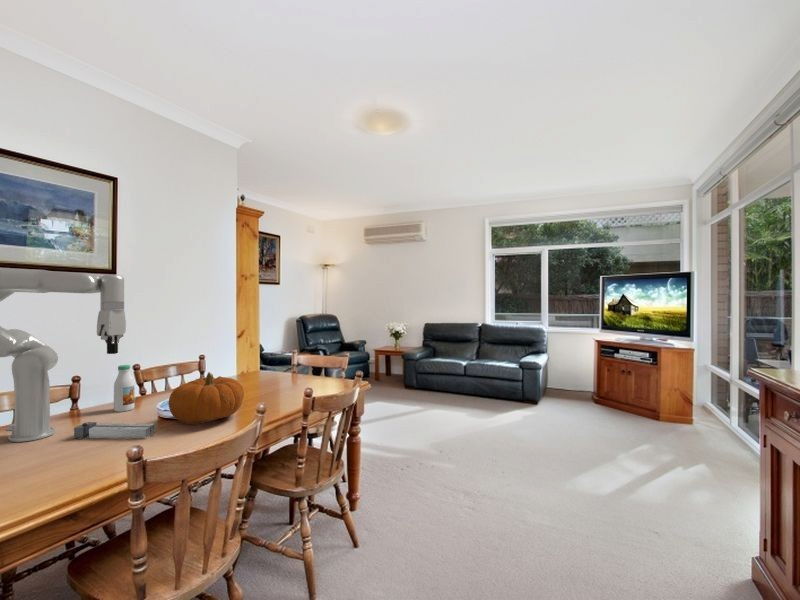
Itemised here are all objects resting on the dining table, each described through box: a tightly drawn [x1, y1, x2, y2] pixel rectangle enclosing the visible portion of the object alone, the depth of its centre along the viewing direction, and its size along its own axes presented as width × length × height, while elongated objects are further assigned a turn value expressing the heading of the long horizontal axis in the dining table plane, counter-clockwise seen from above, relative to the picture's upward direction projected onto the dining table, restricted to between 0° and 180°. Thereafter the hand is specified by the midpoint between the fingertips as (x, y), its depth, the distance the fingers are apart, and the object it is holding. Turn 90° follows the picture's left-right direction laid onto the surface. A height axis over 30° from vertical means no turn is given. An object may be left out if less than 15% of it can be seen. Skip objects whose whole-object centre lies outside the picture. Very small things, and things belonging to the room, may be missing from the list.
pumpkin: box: [168, 371, 245, 425], centre depth 167 cm, size 28×28×20 cm
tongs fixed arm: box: [73, 421, 151, 439], centre depth 147 cm, size 26×6×5 cm, turn 90°
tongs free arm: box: [95, 422, 156, 436], centre depth 148 cm, size 20×2×4 cm, turn 89°
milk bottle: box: [113, 364, 135, 413], centre depth 180 cm, size 8×8×20 cm
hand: (112, 353), depth 155 cm, fingers closed
